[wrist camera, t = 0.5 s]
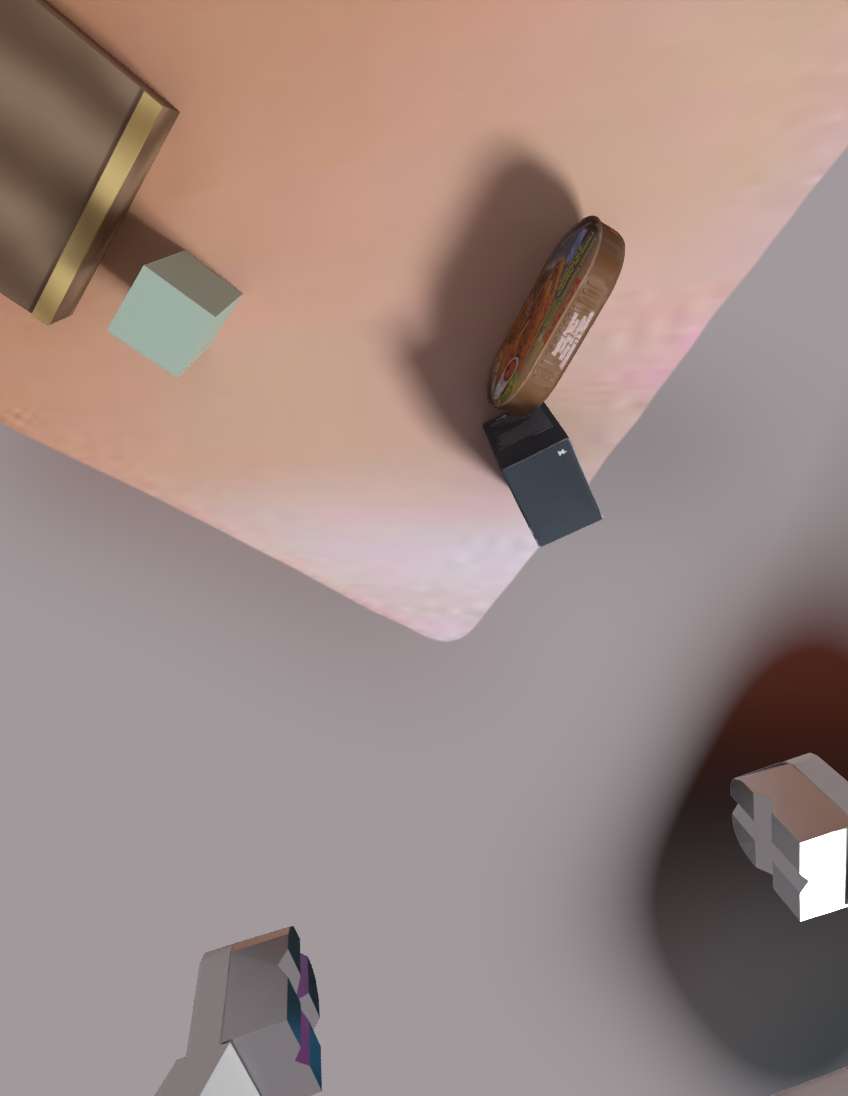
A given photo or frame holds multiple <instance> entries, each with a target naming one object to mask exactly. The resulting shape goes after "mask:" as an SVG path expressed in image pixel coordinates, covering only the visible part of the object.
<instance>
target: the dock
mask: <svg viewBox="0 0 848 1096" xmlns="http://www.w3.org/2000/svg"><path fill="white" fill-rule="evenodd" d="M179 113H180V112H179V111H178V110H177V109H175V108H174V107H173V106H172V105H171V104H169V103H168V102H167V101H166V100H165V99H163V98H162V97H161V96H160V95H159V94H157V93H156V92H155V91H154V90H153V89H151V88H150V87H149V86H148V85H147V84H145V83H144V82H143V81H142V80H141V79H139V78H138V77H137V76H136V75H135V74H133V73H132V72H131V71H130V70H129V69H127V68H126V67H125V66H124V65H123V64H121V63H120V62H119V61H118V60H117V59H115V58H114V57H113V56H112V55H111V54H109V53H108V52H107V51H106V50H105V49H103V48H102V47H101V46H100V45H99V44H97V43H96V42H95V41H94V40H93V39H91V38H90V37H89V36H88V35H87V34H85V33H84V32H83V31H82V30H81V29H79V28H78V27H77V26H76V25H75V24H73V23H72V22H71V21H70V20H69V19H67V18H66V17H65V16H64V15H63V14H61V13H60V12H59V11H58V10H57V9H55V8H54V7H53V6H52V5H51V4H49V3H48V2H47V1H46V0H0V293H2V294H3V295H5V296H6V297H8V298H9V299H11V300H12V301H14V302H15V303H17V304H18V305H20V306H21V307H23V308H24V309H26V310H27V311H29V312H30V313H32V314H31V315H32V316H34V317H35V318H37V319H38V320H40V321H41V322H43V323H44V324H46V325H47V326H48V325H50V324H52V323H55V322H57V321H59V320H62V319H64V318H66V317H68V316H71V315H72V314H73V312H74V310H75V308H76V306H77V304H78V302H79V300H80V299H81V297H82V295H83V293H84V291H85V289H86V287H87V285H88V284H89V282H90V280H91V278H92V276H93V274H94V272H95V270H96V268H97V267H98V265H99V263H100V261H101V259H102V257H103V255H104V253H105V252H106V250H107V248H108V246H109V244H110V242H111V240H112V238H113V237H114V235H115V233H116V231H117V229H118V227H119V225H120V223H121V222H122V220H123V218H124V216H125V214H126V212H127V210H128V208H129V206H130V205H131V203H132V201H133V199H134V197H135V195H136V193H137V191H138V190H139V188H140V186H141V184H142V182H143V180H144V178H145V176H146V175H147V173H148V171H149V169H150V167H151V165H152V163H153V161H154V160H155V158H156V156H157V154H158V152H159V150H160V148H161V146H162V144H163V143H164V141H165V139H166V137H167V135H168V133H169V131H170V129H171V128H172V126H173V124H174V122H175V120H176V118H177V116H178V114H179Z"/></svg>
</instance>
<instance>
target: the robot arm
mask: <svg viewBox="0 0 848 1096" xmlns="http://www.w3.org/2000/svg"><path fill="white" fill-rule="evenodd" d="M731 796H732V797H733V798H734V799H735V800H736V801H737V802H738V805H737V806H736V808H735V810H734V811H733V813H732V817H733V827H734V830H735V833H736V835H737V838H738V841H739V843H740V845H741V847H742V848H743V850H744V852H745V853H746V855H747V856H748V857H749V859H750V860H751V861H752V862H753V864H754V865H755V866H756V867H757V868H759V869H761V870H764V871H766V872H768V873H770V874H772V875H773V888H774V890H775V891H776V892H777V893H778V894H779V896H780V897H781V898H782V899H783V901H784V902H785V903H786V904H787V905H788V906H789V908H790V909H791V910H792V912H793V913H794V914H795V915H796V916H797V918H798V919H799V920H800V921H803V920H806V919H809V918H812V917H815V916H818V915H822V914H825V913H828V912H831V911H834V910H837V909H840V908H843V907H846V906H848V782H847V781H846V780H845V779H844V778H843V777H841V776H840V775H839V774H838V773H837V772H836V771H834V770H833V769H832V768H831V767H830V766H829V765H827V764H826V763H825V762H824V761H823V760H822V759H820V758H819V757H818V756H816V755H814V754H812V753H809V754H805V755H802V756H799V757H796V758H793V759H790V760H787V761H785V762H780V763H777V764H774V765H771V766H768V767H766V768H762V769H760V770H757V771H754V772H751V773H748V774H745V775H742V776H739V777H737V778H734V779H733V781H732V783H731ZM319 1018H320V1014H319V998H318V991H317V985H316V979H315V975H314V972H313V968H312V965H311V963H310V960H309V958H308V957H307V956H306V955H304V954H301V953H300V938H299V936H298V934H297V932H296V930H295V928H294V926H292V927H287V928H284V929H281V930H277V931H274V932H270V933H268V934H264V935H260V936H257V937H254V938H251V939H248V940H244V941H241V942H237V943H234V944H232V945H228V946H226V947H222V948H219V949H216V950H213V951H209V952H206V953H204V956H203V958H202V961H201V962H200V966H199V972H198V979H197V986H196V993H195V1000H194V1006H193V1013H192V1020H191V1027H190V1033H189V1040H188V1047H187V1054H186V1057H184V1058H181V1059H178V1060H177V1061H176V1062H175V1064H174V1066H173V1067H172V1069H171V1071H170V1072H169V1073H168V1075H167V1077H166V1078H165V1080H164V1081H163V1083H162V1084H161V1086H160V1088H159V1089H158V1091H157V1092H156V1094H155V1095H154V1096H311V1095H313V1094H316V1093H318V1092H321V1091H322V1080H321V1079H322V1078H321V1046H320V1044H319V1042H318V1039H317V1037H316V1035H315V1033H314V1031H313V1030H314V1027H315V1026H316V1024H317V1022H318V1020H319ZM771 1096H848V1067H845V1068H843V1069H840V1070H837V1071H835V1072H832V1073H829V1074H827V1075H824V1076H821V1077H819V1078H816V1079H814V1080H811V1081H808V1082H806V1083H803V1084H800V1085H798V1086H795V1087H792V1088H790V1089H787V1090H784V1091H782V1092H779V1093H776V1094H774V1095H771Z"/></svg>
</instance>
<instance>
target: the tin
mask: <svg viewBox="0 0 848 1096" xmlns="http://www.w3.org/2000/svg"><path fill="white" fill-rule="evenodd" d="M624 256H625V243H624V240H623V238H622V237H621V235H620V234H619V233H618V232H617V231H615V230H614V229H612V228H610V227H609V226H607V225H605V224H604V223H602V222H601V221H600V219H599V218H598V217H596V216H588V217H586V218H584V219H582V220H581V221H580V222H579V223H577V224H576V225H575V226H574V227H573V228H572V229H571V230H570V231H569V232H568V233H567V234H566V235H565V236H564V238H563V239H562V240H561V241H560V243H559V244H558V245H557V247H556V248H555V250H554V251H553V253H552V255H551V256H550V258H549V260H548V261H547V263H546V265H545V267H544V269H543V270H542V272H541V274H540V276H539V278H538V280H537V281H536V283H535V285H534V287H533V289H532V291H531V293H530V294H529V296H528V298H527V300H526V302H525V304H524V305H523V307H522V309H521V311H520V313H519V315H518V316H517V318H516V320H515V322H514V324H513V325H512V327H511V329H510V331H509V333H508V335H507V336H506V338H505V340H504V342H503V344H502V346H501V348H500V350H499V352H498V354H497V356H496V359H495V361H494V364H493V367H492V369H491V373H490V376H489V381H488V387H487V399H488V402H489V404H490V405H491V406H493V407H497V408H500V409H502V410H504V411H506V412H508V413H510V414H512V415H515V416H525V415H528V414H530V413H532V412H533V411H534V410H536V409H537V408H538V407H539V406H540V405H541V404H542V403H543V402H544V401H545V400H546V399H547V397H548V396H549V395H550V393H551V392H552V391H553V389H554V388H555V386H556V385H557V383H558V381H559V380H560V378H561V377H562V375H563V373H564V372H565V370H566V368H567V367H568V365H569V363H570V362H571V360H572V358H573V357H574V355H575V353H576V352H577V350H578V348H579V347H580V345H581V343H582V341H583V340H584V338H585V337H586V335H587V333H588V331H589V330H590V328H591V326H592V325H593V323H594V321H595V320H596V318H597V316H598V315H599V313H600V311H601V309H602V308H603V306H604V304H605V303H606V301H607V299H608V297H609V296H610V294H611V292H612V290H613V288H614V286H615V284H616V282H617V279H618V277H619V275H620V272H621V269H622V265H623V261H624Z"/></svg>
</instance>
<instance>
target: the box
mask: <svg viewBox="0 0 848 1096" xmlns="http://www.w3.org/2000/svg"><path fill="white" fill-rule="evenodd" d="M483 428H484V430H485V433H486V435H487V437H488V440H489V443H490V445H491V448H492V450H493V453H494V455H495V457H496V460H497V462H498V465H499V467H500V469H501V472H502V474H503V476H504V478H505V480H506V482H507V484H508V486H509V488H510V490H511V492H512V494H513V496H514V498H515V500H516V502H517V504H518V506H519V508H520V510H521V512H522V514H523V516H524V518H525V520H526V522H527V524H528V526H529V528H530V530H531V532H532V534H533V536H534V538H535V540H536V542H537V544H538V546H539V547H542V546H544V545H546V544H549V543H551V542H553V541H555V540H557V539H560V538H562V537H564V536H566V535H569V534H571V533H573V532H575V531H577V530H579V529H581V528H584V527H586V526H588V525H590V524H593V523H595V522H597V521H599V520H601V519H602V518H603V514H602V513H601V511H600V509H599V507H598V505H597V503H596V501H595V498H594V496H593V494H592V492H591V489H590V487H589V485H588V482H587V480H586V478H585V475H584V473H583V471H582V468H581V466H580V464H579V461H578V459H577V456H576V454H575V451H574V449H573V446H572V443H571V441H570V439H569V437H568V436H567V434H566V433H565V431H564V430H563V428H562V427H561V426H560V424H559V423H558V421H557V420H556V418H555V417H554V415H553V414H552V413H551V411H550V410H549V408H548V407H547V406H546V404H545V403H544V402H543V403H542V404H541V405H540V406H539V407H538V408H537V409H536V410H534V411H533V412H532V413H530V414H528V415H525V416H515V415H512V414H510V413H508V412H505V413H503V414H501V415H499V416H497V417H495V418H493V419H491V420H489V421H486V422H485V423H484V424H483Z"/></svg>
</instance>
